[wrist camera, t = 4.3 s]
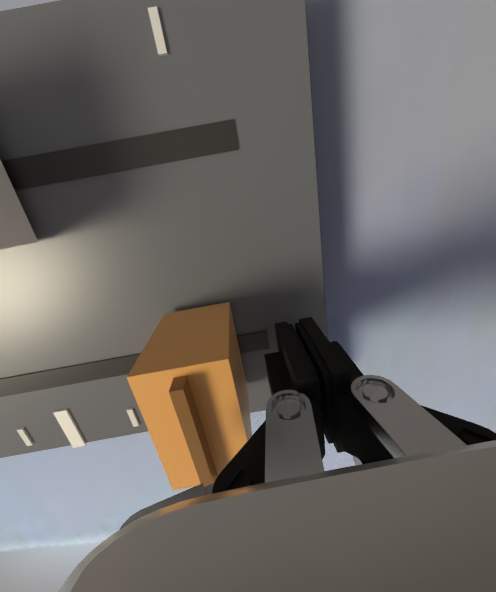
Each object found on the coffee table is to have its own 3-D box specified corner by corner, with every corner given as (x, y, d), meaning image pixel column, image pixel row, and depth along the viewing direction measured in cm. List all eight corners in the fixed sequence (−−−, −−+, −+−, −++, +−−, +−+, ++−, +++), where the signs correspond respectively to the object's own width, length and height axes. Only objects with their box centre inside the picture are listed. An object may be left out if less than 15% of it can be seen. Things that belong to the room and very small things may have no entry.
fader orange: (229, 301, 12) (228, 371, 7) (247, 389, 13) (256, 493, 9) (164, 313, 12) (117, 391, 7) (191, 399, 13) (169, 508, 9)
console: (286, 10, 10) (303, -47, 8) (317, 372, 17) (332, 401, 14) (-246, 106, 10) (-387, 78, 8) (-12, 432, 17) (-52, 470, 14)
